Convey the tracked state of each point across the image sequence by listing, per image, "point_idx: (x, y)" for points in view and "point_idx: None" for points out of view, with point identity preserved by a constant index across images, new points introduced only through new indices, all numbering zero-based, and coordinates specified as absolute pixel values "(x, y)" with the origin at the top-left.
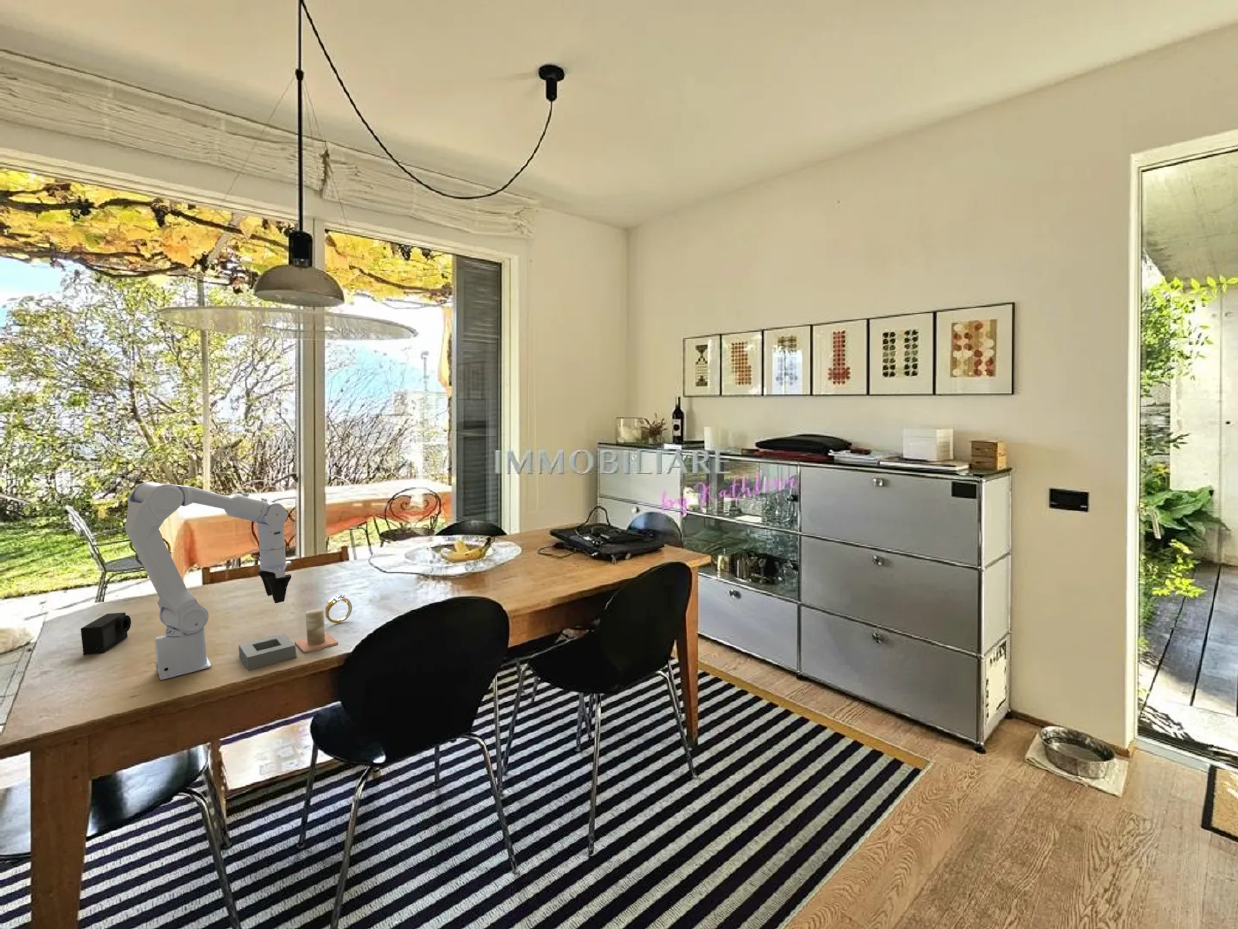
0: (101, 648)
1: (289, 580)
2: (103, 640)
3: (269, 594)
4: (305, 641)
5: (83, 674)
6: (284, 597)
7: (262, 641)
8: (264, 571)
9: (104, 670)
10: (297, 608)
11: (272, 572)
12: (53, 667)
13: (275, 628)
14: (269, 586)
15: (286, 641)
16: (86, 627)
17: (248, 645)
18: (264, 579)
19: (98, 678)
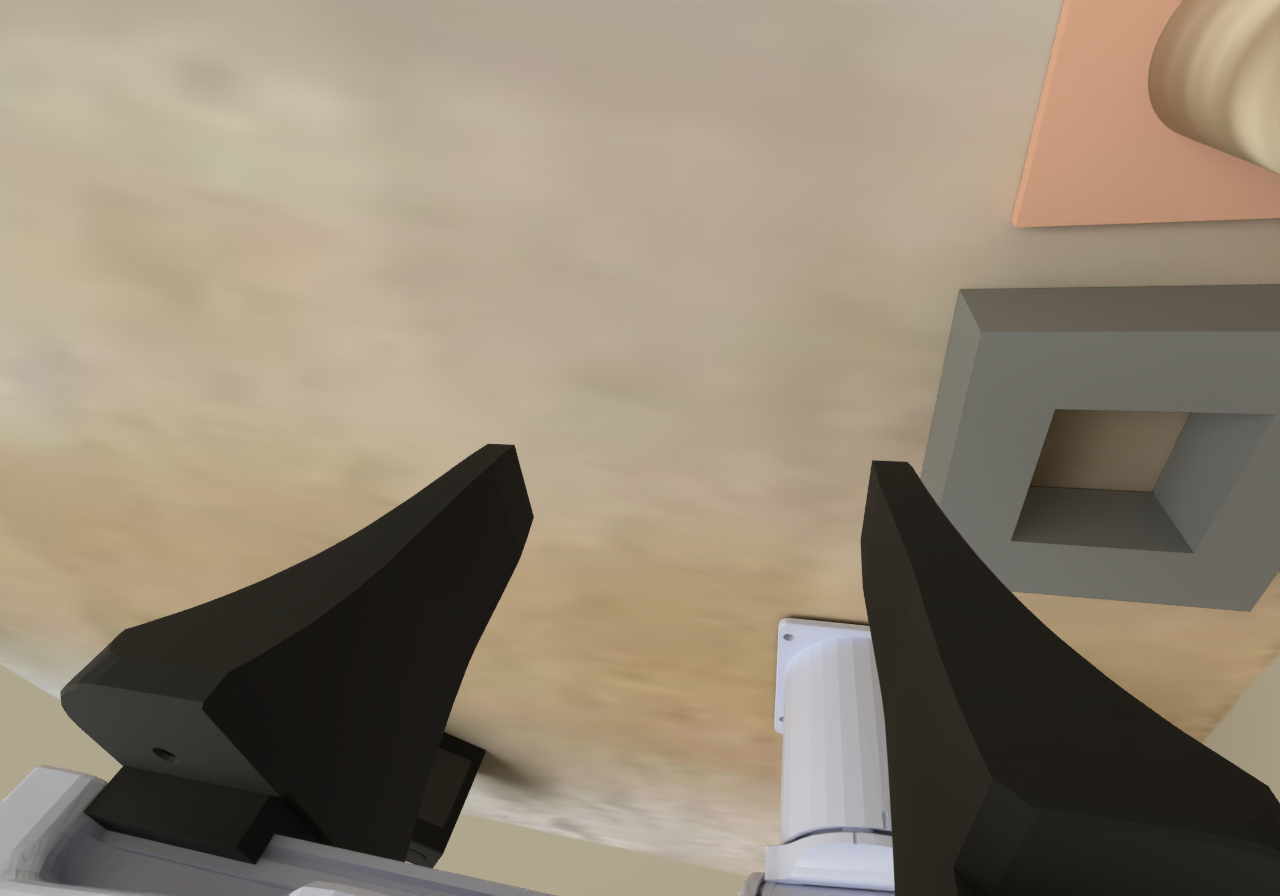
0: (477, 769)
1: (1197, 743)
2: (462, 793)
3: (525, 517)
4: (1114, 144)
5: (650, 803)
6: (927, 495)
7: (1014, 487)
8: (357, 846)
9: (654, 779)
10: (95, 13)
11: (342, 740)
12: (538, 813)
13: (532, 271)
14: (476, 585)
15: (1235, 367)
16: (429, 866)
17: (1007, 558)
18: (438, 719)
19: (719, 798)
